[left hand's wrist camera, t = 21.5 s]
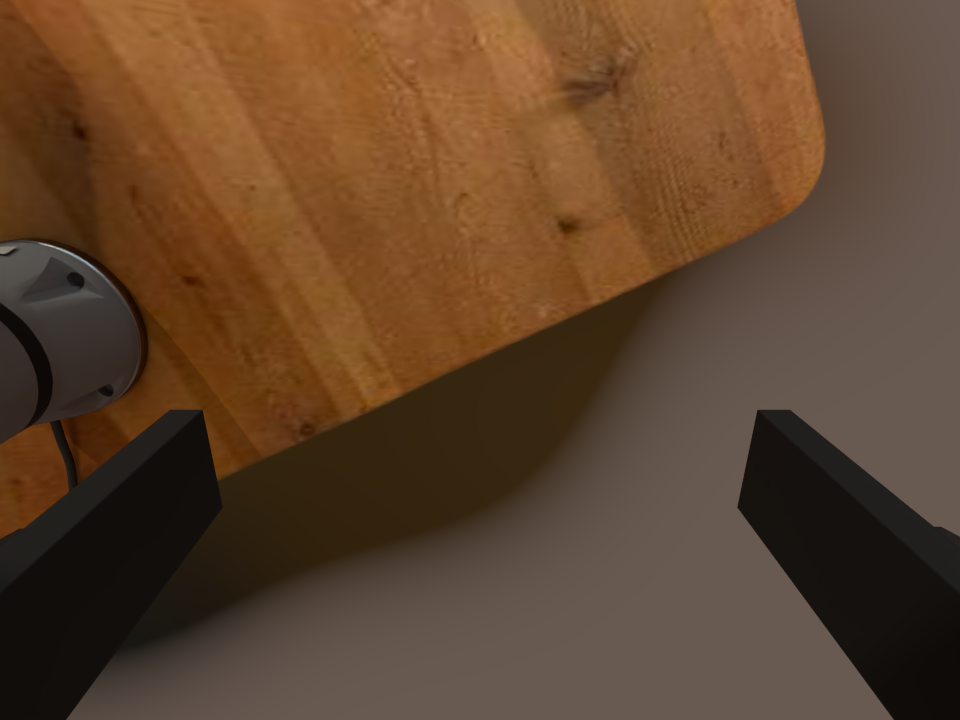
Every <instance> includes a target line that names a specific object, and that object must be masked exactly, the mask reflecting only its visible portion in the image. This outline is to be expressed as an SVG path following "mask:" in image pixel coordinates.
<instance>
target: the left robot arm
mask: <svg viewBox="0 0 960 720" xmlns="http://www.w3.org/2000/svg"><path fill="white" fill-rule="evenodd" d="M146 356H147V336H146V330H145V326H144V323H143V319H142V317H141V314H140V311H139V309H138V307H137V305H136V303H135V302H134V300H133V298H132V297H131V295H130V294H129V292H128V291H127V290H126V288H125V287H124V286H123V284H122V283H121V282H120V281H119V280H118V279H117V278H116V277H115V276H114V275H113V274H112V273H111V272H110V271H109V270H108V269H107V268H106V267H104V266H103V265H102V264H100V263H99V262H98V261H96V260H95V259H93V258H92V257H90V256H89V255H87V254H85V253H83V252H81V251H79V250H77V249H75V248H73V247H70V246H68V245H65V244H62V243H59V242H55V241H51V240H45V239H35V238H26V239H16V240H10V241H4V242H0V444H2V443H3V442H5V441H7V440H8V439H10V438H11V437H13V436H15V435H16V434H18V433H19V432H21V431H23V430H24V429H26V428H28V427H30V426H32V425H36V424H41V423H46V422H50V423H51V426H52V430H53V433H54V436H55V438H56V441H57V444H58V447H59V449H60V451H61V454H62V456H63V459H64V462H65V465H66V470H67V475H68V484H69V492H68V493H67V494H66V495H65V496H63V497H62V498H61V499H60V500H59V501H57V502H56V503H55V504H54V505H52V506H51V507H50V508H49V509H47V510H46V511H45V512H44V513H43V514H41V515H40V516H39V517H38V518H36V519H35V520H34V521H33V522H31V523H30V524H29V525H28V526H27V527H25V528H24V529H18V530H16V531H14V532H13V533H11V534H9V535H7V536H5V537H3V538H1V539H0V720H66V719H67V718H68V716H69V715H70V714H71V712H72V711H73V710H74V708H75V707H76V705H77V704H78V703H79V701H80V700H81V699H82V697H83V696H84V695H85V693H86V692H87V691H88V689H89V688H90V686H91V685H92V684H93V682H94V681H95V680H96V678H97V677H98V676H99V674H100V673H101V672H102V670H103V669H104V668H105V666H106V665H107V663H108V662H109V661H110V659H111V658H112V657H113V655H114V654H115V653H116V651H117V650H118V649H119V647H120V646H121V644H122V643H123V642H124V640H125V639H126V638H127V636H128V635H129V634H130V632H131V631H132V630H133V628H134V627H135V625H136V624H137V623H138V621H139V620H140V619H141V617H142V616H143V615H144V613H145V612H146V610H147V609H148V608H149V606H150V605H151V604H152V602H153V601H154V600H155V598H156V597H157V596H158V594H159V593H160V591H161V590H162V589H163V587H164V586H165V585H166V583H167V582H168V581H169V579H170V578H171V577H172V575H173V574H174V572H175V571H176V570H177V569H178V567H179V566H180V564H181V563H182V562H183V560H184V559H185V558H186V556H187V555H188V553H189V552H190V551H191V549H192V548H193V547H194V545H195V544H196V543H197V541H198V540H199V539H200V537H201V536H202V535H203V533H204V532H205V530H206V529H207V528H208V526H209V525H210V524H211V522H212V521H213V520H214V518H215V517H216V516H217V514H218V513H219V512H220V510H221V509H222V502H221V497H220V493H219V488H218V483H217V478H216V473H215V468H214V463H213V459H212V454H211V449H210V444H209V439H208V434H207V429H206V425H205V420H204V415H203V410H169V411H168V412H167V413H166V414H164V415H163V416H162V417H161V418H159V419H158V420H157V421H156V422H155V423H153V424H152V425H151V426H150V427H148V428H147V429H146V430H145V431H143V432H142V433H141V434H140V435H139V436H137V437H136V438H135V439H134V440H132V441H131V442H130V443H129V444H127V445H126V446H125V447H124V448H123V449H121V450H120V451H119V452H118V453H116V454H115V455H114V456H113V457H111V458H110V459H109V460H108V461H107V462H105V463H104V464H103V465H102V466H100V467H99V468H98V469H97V470H95V471H94V472H93V473H92V474H91V475H89V476H88V477H87V478H86V479H84V480H83V481H82V482H81V483H79V484H77V474H76V468H75V463H74V459H73V456H72V453H71V450H70V448H69V446H68V443H67V440H66V438H65V435H64V431H63V428H62V425H61V422H60V420H61V419H66V418H70V417H75V416H80V415H84V414H88V413H91V412H93V411H96V410H98V409H100V408H103V407H105V406H107V405H109V404H110V403H112V402H114V401H115V400H117V399H118V398H120V397H121V396H123V395H124V394H125V393H126V392H128V391H129V390H130V389H131V388H132V387H133V386H134V384H135V383H136V382H137V380H138V379H139V377H140V375H141V373H142V371H143V368H144V365H145V361H146ZM738 509H739V510H740V511H741V513H742V514H743V516H744V517H745V518H746V520H747V521H748V522H749V524H750V525H751V526H752V528H753V529H754V531H755V532H756V533H757V535H758V536H759V537H760V539H761V540H762V541H763V543H764V544H765V545H766V547H767V548H768V550H769V551H770V552H771V554H772V555H773V556H774V558H775V559H776V560H777V562H778V563H779V564H780V566H781V567H782V568H783V570H784V571H785V572H786V574H787V575H788V577H789V578H790V579H791V581H792V582H793V583H794V585H795V586H796V587H797V589H798V590H799V592H800V593H801V594H802V596H803V597H804V598H805V600H806V601H807V602H808V604H809V605H810V606H811V608H812V609H813V611H814V612H815V613H816V615H817V616H818V617H819V619H820V620H821V621H822V623H823V624H824V625H825V627H826V628H827V630H828V631H829V632H830V634H831V635H832V636H833V638H834V639H835V640H836V642H837V643H838V644H839V646H840V647H841V649H842V650H843V651H844V653H845V654H846V655H847V657H848V658H849V659H850V661H851V662H852V663H853V665H854V666H855V668H856V669H857V670H858V672H859V673H860V674H861V676H862V677H863V678H864V680H865V681H866V682H867V684H868V685H869V687H870V688H871V689H872V691H873V692H874V693H875V695H876V696H877V697H878V699H879V700H880V701H881V703H882V704H883V706H884V707H885V708H886V710H887V711H888V712H889V714H890V715H891V716H892V718H893V719H894V720H960V537H959V536H957V535H955V534H953V533H952V532H950V531H948V530H946V529H944V528H942V527H933V526H932V525H931V524H930V523H929V522H927V521H926V520H925V519H924V518H922V517H921V516H920V515H919V514H917V513H916V512H915V511H914V510H912V509H911V508H910V507H909V506H908V505H906V504H905V503H904V502H903V501H901V500H900V499H899V498H898V497H897V496H895V495H894V494H893V493H892V492H890V491H889V490H888V489H887V488H885V487H884V486H883V485H882V484H881V483H879V482H878V481H877V480H876V479H874V478H873V477H872V476H871V475H869V474H868V473H867V472H866V471H865V470H863V469H862V468H861V467H860V466H858V465H857V464H856V463H855V462H853V461H852V460H851V459H850V458H849V457H847V456H846V455H845V454H844V453H842V452H841V451H840V450H839V449H837V448H836V447H835V446H834V445H832V444H831V443H830V442H829V441H828V440H826V439H825V438H824V437H823V436H821V435H820V434H819V433H818V432H817V431H815V430H814V429H813V428H812V427H810V426H809V425H808V424H807V423H805V422H804V421H803V420H802V419H801V418H799V417H798V416H797V415H796V414H794V413H793V412H792V411H791V410H757V415H756V420H755V425H754V429H753V434H752V439H751V444H750V449H749V454H748V459H747V463H746V468H745V473H744V478H743V483H742V488H741V493H740V497H739V502H738Z"/></svg>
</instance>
